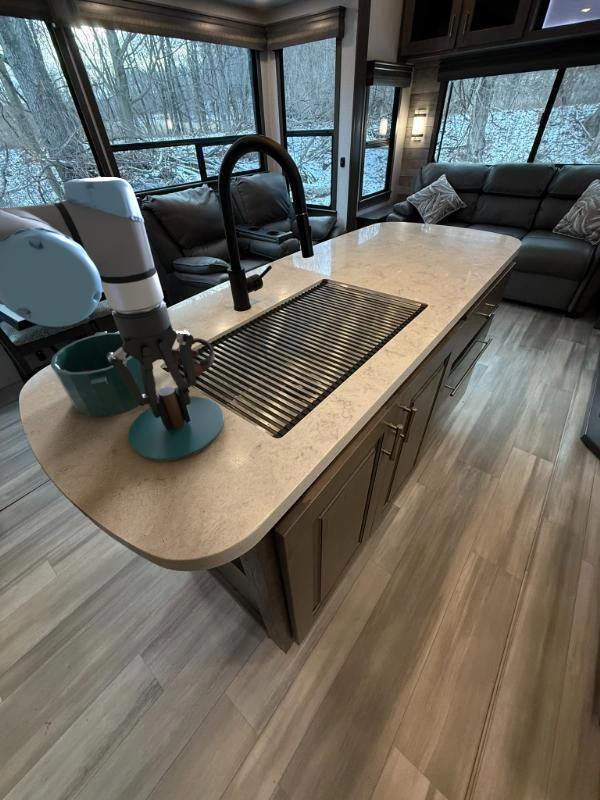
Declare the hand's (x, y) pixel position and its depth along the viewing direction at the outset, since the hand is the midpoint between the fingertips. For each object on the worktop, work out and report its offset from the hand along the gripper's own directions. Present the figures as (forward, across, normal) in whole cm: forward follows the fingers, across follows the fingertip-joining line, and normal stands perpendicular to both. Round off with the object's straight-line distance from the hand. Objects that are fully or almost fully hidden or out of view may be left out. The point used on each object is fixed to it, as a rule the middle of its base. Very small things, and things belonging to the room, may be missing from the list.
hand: (176, 422), depth 63 cm
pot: (+2, +6, -20) cm, 21 cm away
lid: (+1, 0, 0) cm, 1 cm away
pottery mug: (+2, -11, -19) cm, 22 cm away
